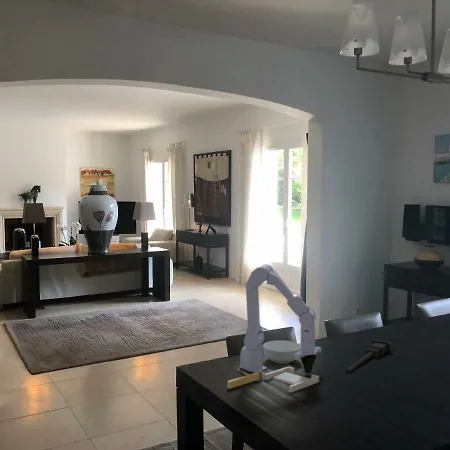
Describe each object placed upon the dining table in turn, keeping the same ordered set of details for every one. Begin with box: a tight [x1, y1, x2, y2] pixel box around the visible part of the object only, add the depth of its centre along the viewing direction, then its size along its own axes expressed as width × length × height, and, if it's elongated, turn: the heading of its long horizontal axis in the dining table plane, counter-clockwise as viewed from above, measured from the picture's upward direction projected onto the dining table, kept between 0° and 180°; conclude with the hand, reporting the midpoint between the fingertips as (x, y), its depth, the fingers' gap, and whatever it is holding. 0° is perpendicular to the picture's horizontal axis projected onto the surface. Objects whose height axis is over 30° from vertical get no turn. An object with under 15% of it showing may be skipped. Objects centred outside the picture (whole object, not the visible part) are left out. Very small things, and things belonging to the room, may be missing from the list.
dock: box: [256, 365, 320, 393], centre depth 201 cm, size 19×17×2 cm
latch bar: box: [227, 370, 263, 390], centre depth 198 cm, size 17×2×3 cm, turn 129°
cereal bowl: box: [262, 339, 301, 365], centre depth 225 cm, size 17×17×7 cm
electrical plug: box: [345, 339, 392, 374], centre depth 226 cm, size 9×42×5 cm, turn 142°
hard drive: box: [272, 372, 310, 386], centre depth 202 cm, size 2×8×12 cm
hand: (307, 372), depth 208 cm, fingers closed
